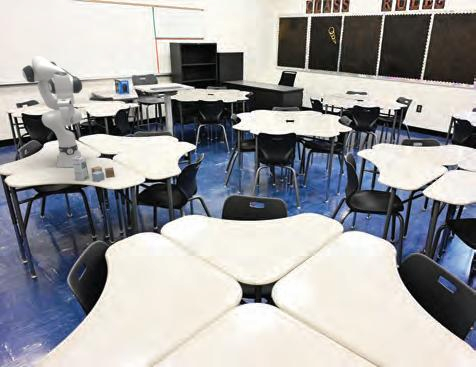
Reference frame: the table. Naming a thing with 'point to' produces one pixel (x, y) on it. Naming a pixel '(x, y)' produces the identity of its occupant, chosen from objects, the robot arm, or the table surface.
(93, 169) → the maple cube
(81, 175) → the syrup box
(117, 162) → the table surface
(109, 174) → the walnut cube
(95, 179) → the slate blue cube
